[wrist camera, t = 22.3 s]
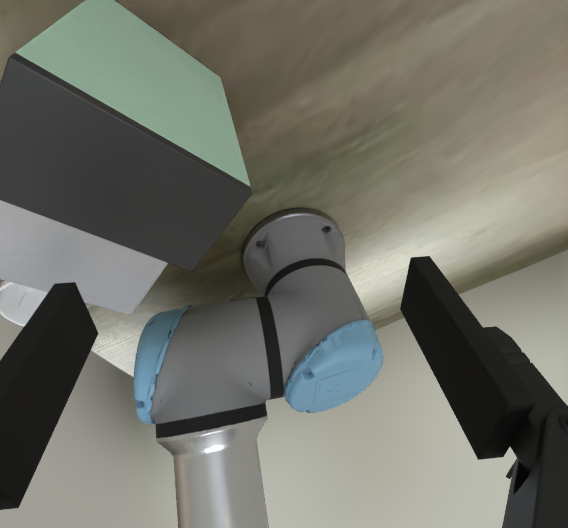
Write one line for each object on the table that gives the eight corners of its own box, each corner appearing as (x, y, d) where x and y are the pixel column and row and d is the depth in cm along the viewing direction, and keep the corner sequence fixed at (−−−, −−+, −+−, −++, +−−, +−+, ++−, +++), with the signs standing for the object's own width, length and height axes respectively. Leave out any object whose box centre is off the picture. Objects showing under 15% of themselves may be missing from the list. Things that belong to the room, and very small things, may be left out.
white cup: (73, 279, 50) (55, 337, 43) (10, 251, 46) (-21, 311, 38) (106, 245, 48) (93, 300, 41) (44, 211, 43) (17, 268, 36)
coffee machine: (136, 217, 46) (112, 376, 30) (28, 171, 40) (-80, 342, 23) (220, 77, 37) (253, 193, 21) (99, -11, 31) (8, 56, 14)
